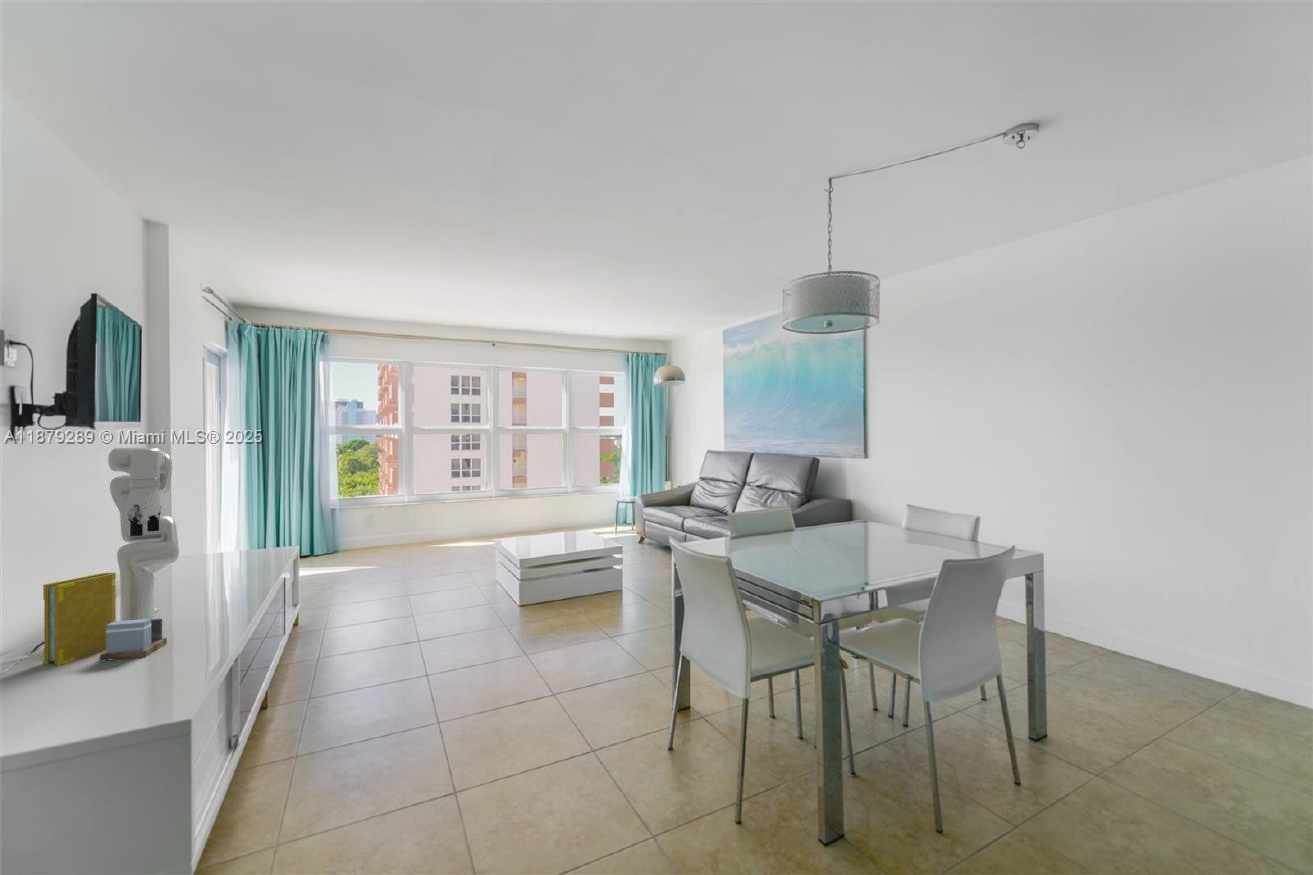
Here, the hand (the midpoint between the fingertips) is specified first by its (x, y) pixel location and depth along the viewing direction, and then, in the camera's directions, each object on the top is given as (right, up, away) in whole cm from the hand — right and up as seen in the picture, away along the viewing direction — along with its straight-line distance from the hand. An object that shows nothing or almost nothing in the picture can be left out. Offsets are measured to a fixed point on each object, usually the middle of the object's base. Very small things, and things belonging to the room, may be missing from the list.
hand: (145, 533), depth 192 cm
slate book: (+4, -36, -10) cm, 38 cm away
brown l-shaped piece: (+3, -38, -7) cm, 39 cm away
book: (-12, -39, -9) cm, 41 cm away
